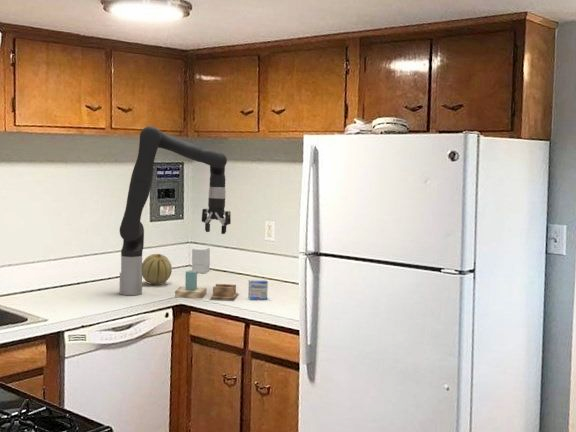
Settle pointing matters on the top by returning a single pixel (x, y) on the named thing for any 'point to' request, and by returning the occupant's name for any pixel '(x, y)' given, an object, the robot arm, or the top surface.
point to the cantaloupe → (156, 269)
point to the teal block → (191, 280)
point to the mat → (224, 300)
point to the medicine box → (258, 289)
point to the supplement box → (201, 260)
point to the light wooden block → (190, 293)
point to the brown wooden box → (224, 292)
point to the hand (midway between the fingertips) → (215, 232)
